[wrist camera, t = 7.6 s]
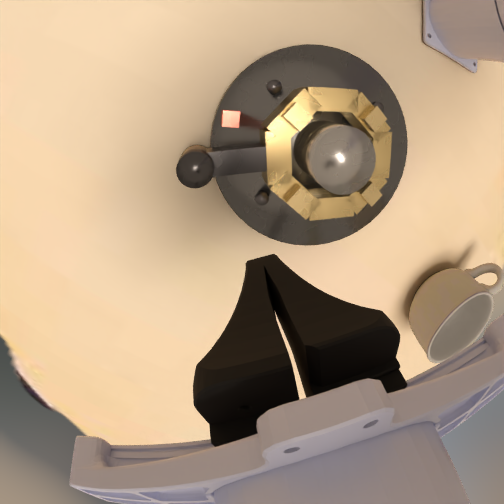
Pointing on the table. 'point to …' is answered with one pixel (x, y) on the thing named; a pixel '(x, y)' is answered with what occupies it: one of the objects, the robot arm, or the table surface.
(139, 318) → the table surface
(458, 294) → the teacup
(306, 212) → the gold handled ring
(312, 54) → the cap plate
